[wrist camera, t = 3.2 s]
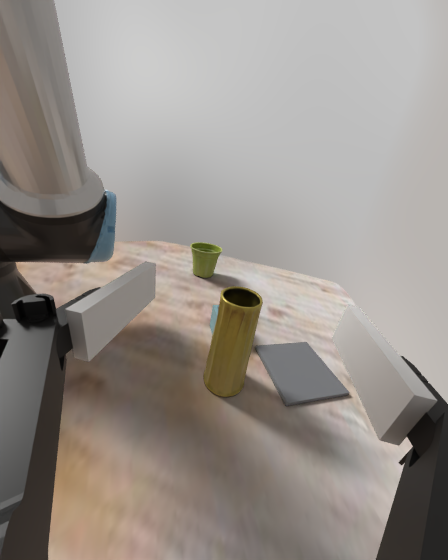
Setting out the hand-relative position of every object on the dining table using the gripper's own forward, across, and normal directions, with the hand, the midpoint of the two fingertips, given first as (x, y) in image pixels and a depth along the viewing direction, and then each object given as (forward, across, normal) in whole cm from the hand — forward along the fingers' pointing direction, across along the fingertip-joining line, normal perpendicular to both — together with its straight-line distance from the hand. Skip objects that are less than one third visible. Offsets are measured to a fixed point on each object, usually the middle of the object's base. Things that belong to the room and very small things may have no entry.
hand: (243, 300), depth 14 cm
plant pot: (+46, -13, -19) cm, 51 cm away
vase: (+10, 0, -19) cm, 22 cm away
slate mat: (+15, +12, -19) cm, 27 cm away
